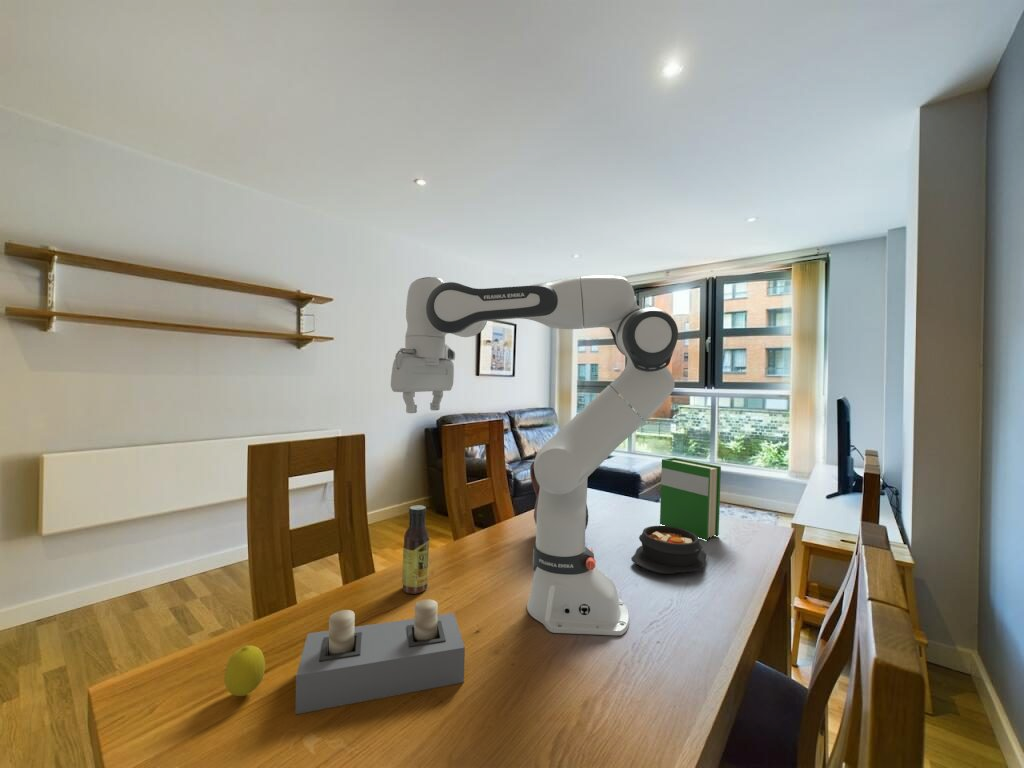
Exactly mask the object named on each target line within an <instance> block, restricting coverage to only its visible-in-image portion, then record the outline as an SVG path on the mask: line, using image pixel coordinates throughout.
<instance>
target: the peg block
mask: <svg viewBox="0 0 1024 768" xmlns="http://www.w3.org/2000/svg"><path fill="white" fill-rule="evenodd" d="M414 623H415V617H414V618H408V619H401V620H395V621H387V622H380V623H379V622H378V623H372V624H366V625H364V624H363V625H358V626H355V627H354V650H353V652H350V653H344V654H337V655H331V656H329V630H324V631H323V630H322V631H316V632H309V633H307V635H306V639H305V643H304V646H303V649H302V652H301V657H300V661H299V663H298V667H297V671H296V676H295V715H298V714H304V713H309V712H314V711H321V710H324V709H326V710H327V709H330V708H336V707H340V706H341V707H342V706H346V705H352V704H357V703H362V702H367V701H373V700H376V699H377V700H378V699H384V698H388V697H393V696H398V695H404V694H410V693H415V692H418V691H419V692H420V691H424V690H430V689H437V688H441V687H446V686H450V685H457V684H461V683H465V653H466V651H465V650H466V648H465V644H464V641H463V636H462V634H461V631H460V628H459V624H458V621H457V618H456V615H455V613H454V612H452V613H451V612H449V613H443V614H438V615H437V639H433V640H426V641H420V642H415V640H414Z"/></svg>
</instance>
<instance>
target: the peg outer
mask: <svg viewBox="0 0 1024 768" xmlns="http://www.w3.org/2000/svg"><path fill="white" fill-rule="evenodd" d="M328 620H329V621H328V631H329V656H331V655H337V654H344V653H350V652H353V650H354V627H356V626H355V622H356V614H355V611H353V610H351V609H341V610H337V611H335V612H334V613H331V615H329V618H328Z"/></svg>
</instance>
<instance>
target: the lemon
mask: <svg viewBox="0 0 1024 768" xmlns="http://www.w3.org/2000/svg"><path fill="white" fill-rule="evenodd" d="M265 660H266V659H265V657H264V653H263V651H262V650H261V649H260V648H259V647H257V646H255V645H247V644H246V645H244V646H243V647H240V648H239V649H237V650H236V651H235V652H233V654H231V656H230V657H229V660H228V661H227V663H226V667H225V671H224V672H225V673H224V684H225V687H226V689H227V691H228V692H229V693H230V694H231V695H234V696H237V697H241V696H242V697H246V696H247V695H248V694H250V693H252V692H253V691H254V690H256V689H257V687H259V685H260V683H261V682H262V681H263V678H264V676H265V671H266V661H265Z"/></svg>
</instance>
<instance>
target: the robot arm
mask: <svg viewBox="0 0 1024 768" xmlns="http://www.w3.org/2000/svg"><path fill="white" fill-rule="evenodd" d="M406 296H407V297H406V304H405V305H406V306H405V307H406V308H405V318H406V320H405V321H406V322H407V328H406V332H405V336H404V337H405V339H404V341H405V342H404V345H405V346H404V347H402V348H399V350H398V351H397V353H395V355H394V356H395V357H394V358H395V359H394V360H393V363H392V368H391V375H390V388H391V390H392V392H393V393H402V398H403V402H404V404H405V405H406V406H405V407H406V408H405V409H406V410H405V411H406V413H407V414H416V413H417V411H418V404H415V400H414V399H415V396H416V393H422V392H431V393H432V396H433V397H432V401H431V402H430V403H429V404H430V405H429V406H430V407H429V409H430V410H431V411H439V410H440V409H441V403H442V399H443V396H444V392H448V391H452V389H453V386H454V381H455V380H454V378H455V365H454V361H455V359H456V352H455V351H454V350H453V349H452V348H451V347H449V346H448V344H447V343H446V336H447V334H451V335H455V336H458V337H461V338H470V337H471V338H472V337H474V336H477V335H478V334H480V333H481V332H482V331H483V330H484V329H485V327H486V325H487V322H489V321H502V320H514V319H521V320H528V321H533V322H536V323H538V324H539V323H540V324H542V325H543V326H547V327H548V328H551V329H556V330H558V329H559V330H560V329H561V330H580V329H590V328H591V329H592V328H604V329H605V328H606V329H609V331H610V334H611V336H612V339H613V341H614V344H615V346H616V349H618V351H619V352H620V354H622V355H623V356H625V357H626V358H627V360H626V365H625V367H624V369H623V371H622V372H621V373H620V375H618V376H617V377H616V378H615V379H613V381H612V382H610V384H609V385H607V386H606V387H605V388H603V390H602V391H601V392H600V393H599V394H597V395H596V396H595V397H593V399H592V400H591V401H590V402H589V403H588V404H587V405H586V406H584V408H582V409H581V410H580V411H579V412H578V413H577V414H576V415H575V416H574V417H573V418H571V420H570V421H568V422H567V423H566V425H564V426H563V427H562V428H561V429H560V430H559V431H558V432H557V433H555V435H553V436H552V437H551V438H550V439H548V440H547V442H545V444H544V445H543V446H541V447H540V449H539V450H538V451H537V453H536V454H535V457H534V461H533V462H534V473H535V477H536V480H537V482H538V484H539V486H540V490H539V498H538V506H537V520H536V523H535V529H536V531H535V544H534V546H533V549H532V550H533V551H532V567H533V568H532V569H533V577H532V578H533V579H532V585H531V589H530V594H529V598H528V600H527V604H526V609H527V610H526V611H527V612H528V613H529V615H530V616H531V617H532V618H533V619H535V620H536V621H538V622H540V623H541V624H542V625H543V626H544V628H545V629H546V630H547V631H549V632H550V633H554V634H572V635H573V634H575V635H578V634H579V635H596V636H597V635H599V636H600V635H601V636H602V635H603V636H622V635H624V634H625V633H626V632H627V631H628V629H629V625H630V613H629V610H628V607H627V605H626V603H625V602H624V601H623V600H622V599H621V598H619V594H618V590H617V587H616V584H615V583H614V581H613V580H612V579H611V578H610V577H609V576H607V575H606V574H605V573H604V572H602V571H601V570H600V569H599V568H598V567H596V560H595V553H594V551H593V548H592V547H591V548H590V549H589V548H588V547H586V530H585V528H586V503H588V502H587V501H588V500H587V498H588V477H590V475H592V474H593V473H594V472H595V471H596V469H598V468H599V467H600V466H601V465H602V463H604V462H605V460H607V459H608V457H609V456H610V455H611V454H612V453H613V452H614V451H615V450H616V449H617V448H618V447H619V446H620V445H621V444H623V442H625V441H626V440H627V439H628V438H629V437H630V436H631V435H632V434H634V433H635V432H636V431H637V430H638V429H639V428H640V427H641V426H643V425H644V424H645V423H646V422H648V420H649V419H650V418H651V417H653V416H654V414H655V413H656V412H657V411H658V410H659V409H660V408H661V407H662V406H663V405H664V403H666V401H667V399H668V398H670V396H671V395H672V393H673V392H674V389H675V385H676V384H675V383H676V382H675V379H674V378H675V377H674V375H673V374H672V372H671V371H670V369H669V367H668V366H669V365H670V363H671V360H672V357H673V353H674V351H675V348H676V345H677V343H678V338H679V329H678V328H679V327H678V325H677V323H676V321H675V319H674V318H673V316H671V315H670V314H669V313H667V312H666V311H665V310H663V309H661V308H660V309H659V308H657V307H646V308H645V307H644V308H641V307H640V306H639V305H638V304H637V301H636V294H635V291H634V288H633V286H632V284H631V282H630V281H629V280H628V279H626V278H625V277H623V276H618V275H617V276H615V275H585V276H584V275H583V276H576V277H575V276H574V277H567V278H566V277H565V278H560V279H557V280H551V281H547V282H542V283H541V282H540V283H535V284H531V285H530V284H529V285H519V286H505V287H489V288H487V287H486V288H475V287H471V286H467V285H465V284H462V283H458V282H453V281H449V282H448V281H447V282H445V281H444V280H443V279H441V278H439V277H435V276H433V277H431V276H427V277H421V278H417V279H416V280H414V281H413V282H411V284H410V285H409V287H408V292H407V295H406ZM586 529H587V528H586Z"/></svg>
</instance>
